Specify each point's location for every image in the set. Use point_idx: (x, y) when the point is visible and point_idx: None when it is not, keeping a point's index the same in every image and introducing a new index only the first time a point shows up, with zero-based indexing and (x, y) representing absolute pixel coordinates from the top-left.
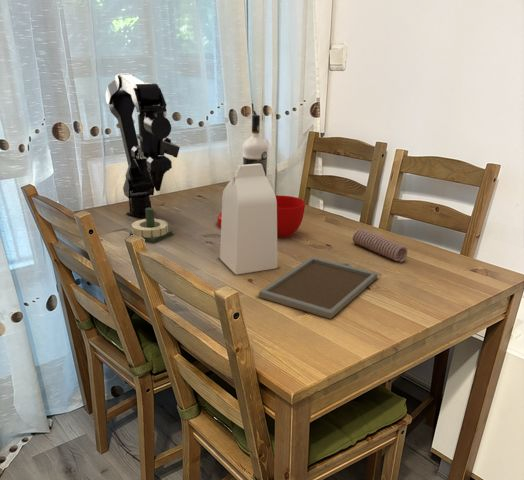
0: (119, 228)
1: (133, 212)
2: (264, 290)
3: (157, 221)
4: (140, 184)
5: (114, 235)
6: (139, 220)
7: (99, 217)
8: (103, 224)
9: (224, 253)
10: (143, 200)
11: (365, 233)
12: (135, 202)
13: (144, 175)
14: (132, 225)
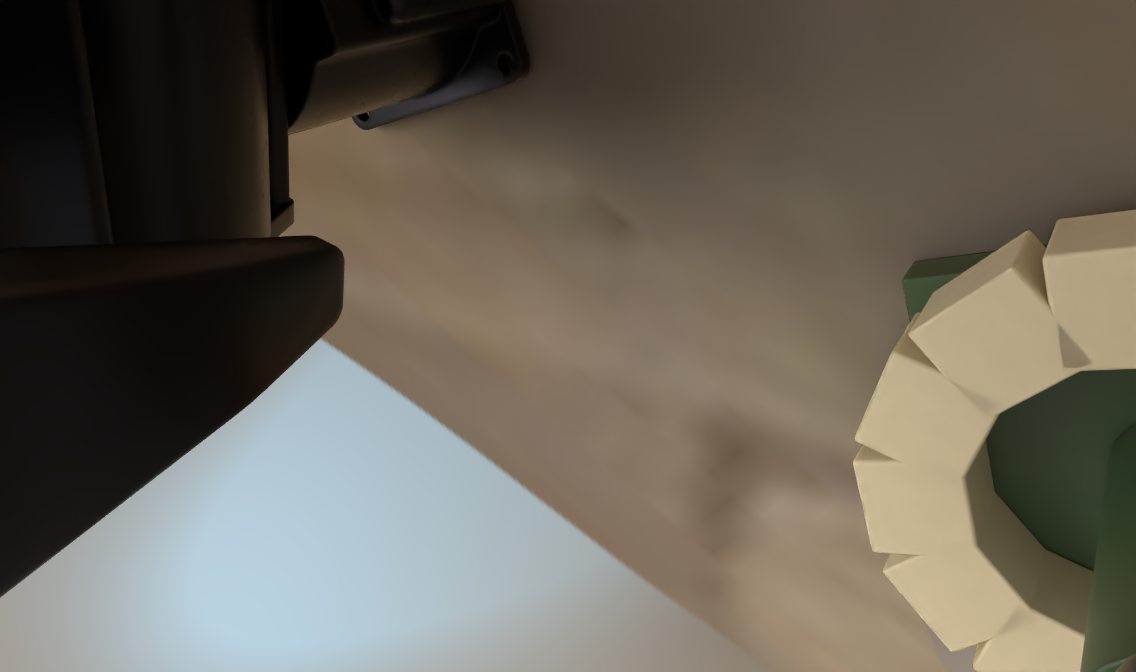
0: (675, 455)
1: (406, 100)
2: None
3: None
4: (188, 174)
5: (815, 623)
6: (874, 472)
7: (347, 349)
8: (505, 455)
9: None
10: (366, 40)
11: None
12: (340, 113)
13: (182, 421)
14: (978, 663)
